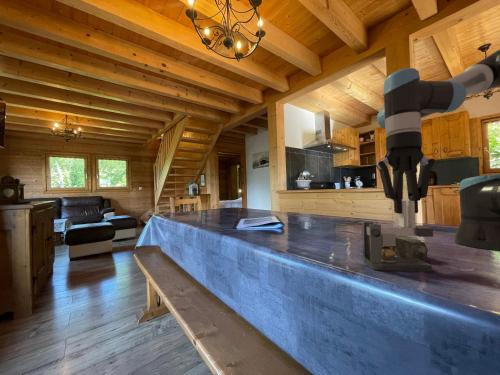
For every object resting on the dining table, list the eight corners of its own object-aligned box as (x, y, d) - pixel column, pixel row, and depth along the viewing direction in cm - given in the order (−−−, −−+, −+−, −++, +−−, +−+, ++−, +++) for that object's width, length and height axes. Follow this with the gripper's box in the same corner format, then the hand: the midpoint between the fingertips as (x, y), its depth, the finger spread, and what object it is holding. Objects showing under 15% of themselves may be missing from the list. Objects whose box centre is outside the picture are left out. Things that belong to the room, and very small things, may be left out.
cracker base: (416, 262, 58) (414, 221, 58) (432, 272, 52) (430, 225, 52) (363, 261, 60) (361, 221, 60) (372, 270, 54) (371, 225, 54)
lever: (421, 242, 57) (421, 225, 57) (433, 247, 52) (433, 228, 53) (365, 242, 59) (364, 225, 59) (372, 246, 55) (371, 228, 55)
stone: (425, 269, 64) (439, 242, 60) (410, 278, 61) (424, 251, 57) (381, 240, 75) (390, 216, 71) (367, 247, 72) (376, 222, 68)
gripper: (424, 135, 58) (428, 223, 58) (367, 139, 61) (370, 224, 60) (444, 127, 51) (449, 228, 51) (379, 131, 53) (383, 229, 53)
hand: (406, 226), depth 55 cm, fingers closed on lever
